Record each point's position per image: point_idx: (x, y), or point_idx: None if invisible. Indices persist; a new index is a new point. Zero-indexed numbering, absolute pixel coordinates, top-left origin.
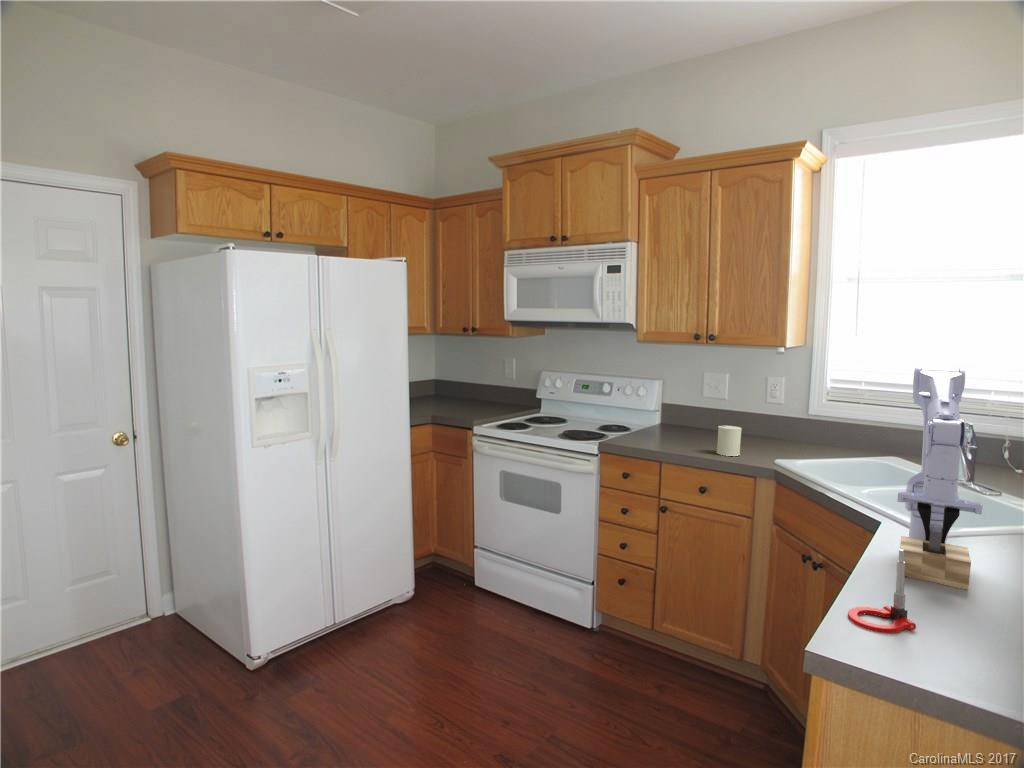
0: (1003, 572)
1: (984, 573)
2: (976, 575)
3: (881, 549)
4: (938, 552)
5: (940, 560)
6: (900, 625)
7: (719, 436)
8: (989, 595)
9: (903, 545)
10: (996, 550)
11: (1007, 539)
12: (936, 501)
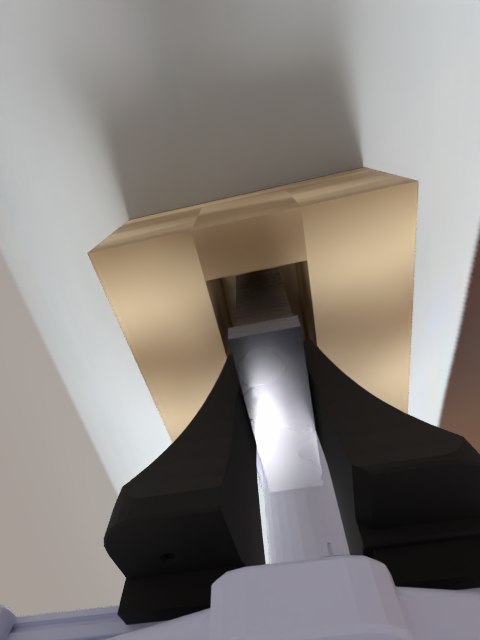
0: (124, 454)
1: (152, 415)
2: None
3: (423, 405)
4: (242, 298)
5: (216, 220)
6: None
7: None
8: (63, 220)
9: (398, 275)
10: None
11: None
12: (354, 634)
